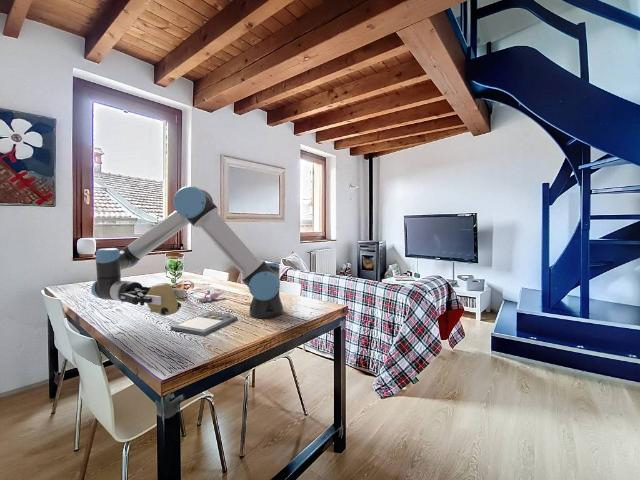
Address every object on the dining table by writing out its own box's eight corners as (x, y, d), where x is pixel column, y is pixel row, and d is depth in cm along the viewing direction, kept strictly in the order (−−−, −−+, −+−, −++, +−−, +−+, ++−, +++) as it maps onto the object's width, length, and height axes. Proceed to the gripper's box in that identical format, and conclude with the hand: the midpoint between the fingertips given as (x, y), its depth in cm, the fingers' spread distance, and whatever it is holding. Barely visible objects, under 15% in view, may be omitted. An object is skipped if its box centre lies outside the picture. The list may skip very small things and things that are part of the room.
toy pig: (151, 327, 105) (164, 310, 100) (136, 298, 109) (148, 280, 104) (178, 318, 114) (190, 302, 109) (163, 291, 117) (175, 274, 112)
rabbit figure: (201, 306, 155) (228, 296, 166) (199, 295, 154) (226, 286, 165) (195, 304, 160) (222, 294, 170) (193, 293, 159) (220, 284, 169)
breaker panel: (237, 319, 132) (237, 312, 132) (203, 335, 114) (203, 327, 114) (207, 314, 138) (207, 308, 138) (170, 329, 120) (170, 321, 119)
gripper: (154, 294, 126) (197, 299, 118) (97, 309, 105) (144, 317, 97) (153, 276, 126) (196, 280, 118) (95, 288, 105) (143, 293, 97)
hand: (173, 296), depth 107 cm, fingers closed on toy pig, 10 cm apart
